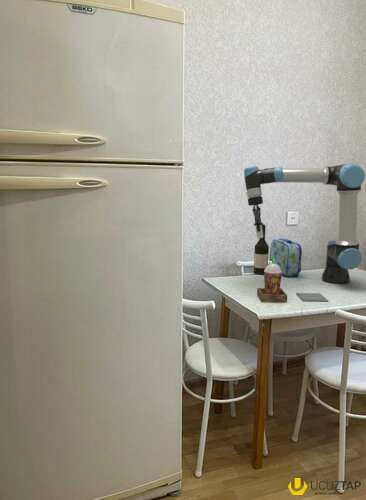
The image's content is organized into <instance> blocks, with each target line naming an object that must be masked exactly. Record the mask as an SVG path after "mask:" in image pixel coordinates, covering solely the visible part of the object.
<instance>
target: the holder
mask: <svg viewBox="0 0 366 500" xmlns="http://www.w3.org/2000/svg"><path fill="white" fill-rule="evenodd" d="M256 296H257V297H258V299H259V301H260V302H261V303H288V294H287V292H286V291H285V290H284V289H283V288H281V287H280V291H279V295H270V294H265V291H264V287H257V288H256Z"/></svg>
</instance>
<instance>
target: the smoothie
mask: <svg viewBox="0 0 366 500" xmlns="http://www.w3.org/2000/svg"><path fill="white" fill-rule="evenodd" d="M282 276H283V275H282V271H281V268H280V267H279V266H278V265H277V264H274V258H273V263H272V264H270V263H268V266H267V267H266V268H265V270H264V275H263V278H264V279H263V281H264V282H263V283H264V287H263V288H264V291H265V294H270V295H279V291H280V288H281V281H282Z"/></svg>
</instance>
